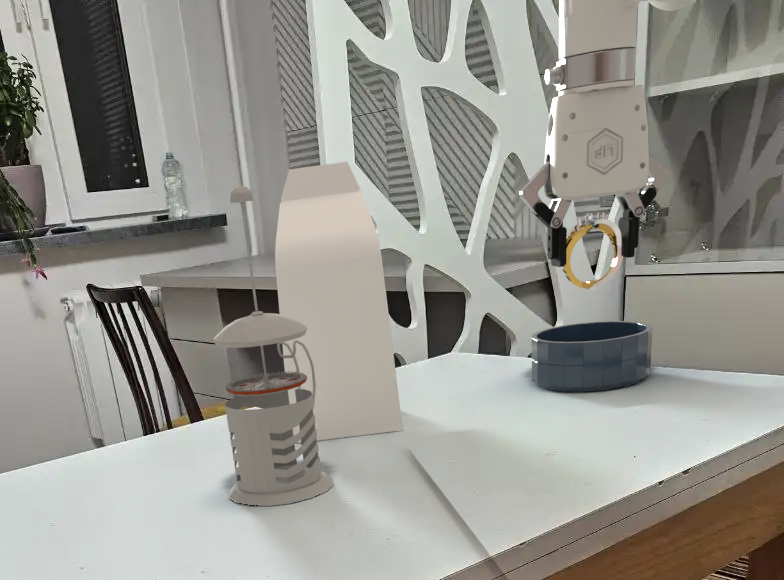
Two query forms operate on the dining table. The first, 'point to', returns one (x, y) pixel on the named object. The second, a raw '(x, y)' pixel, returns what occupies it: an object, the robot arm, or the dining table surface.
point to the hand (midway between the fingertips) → (592, 259)
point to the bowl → (591, 355)
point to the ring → (576, 235)
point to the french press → (271, 411)
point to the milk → (336, 302)
